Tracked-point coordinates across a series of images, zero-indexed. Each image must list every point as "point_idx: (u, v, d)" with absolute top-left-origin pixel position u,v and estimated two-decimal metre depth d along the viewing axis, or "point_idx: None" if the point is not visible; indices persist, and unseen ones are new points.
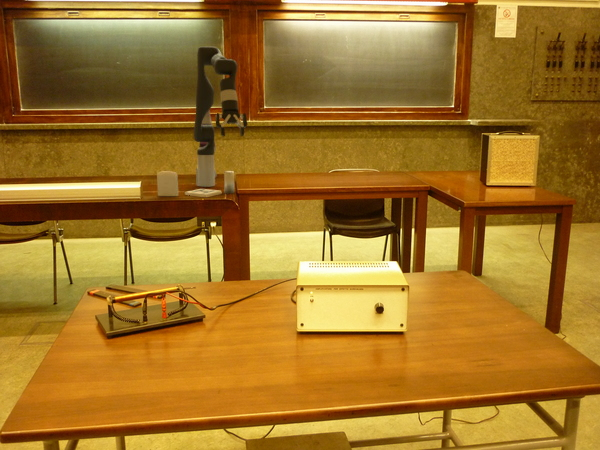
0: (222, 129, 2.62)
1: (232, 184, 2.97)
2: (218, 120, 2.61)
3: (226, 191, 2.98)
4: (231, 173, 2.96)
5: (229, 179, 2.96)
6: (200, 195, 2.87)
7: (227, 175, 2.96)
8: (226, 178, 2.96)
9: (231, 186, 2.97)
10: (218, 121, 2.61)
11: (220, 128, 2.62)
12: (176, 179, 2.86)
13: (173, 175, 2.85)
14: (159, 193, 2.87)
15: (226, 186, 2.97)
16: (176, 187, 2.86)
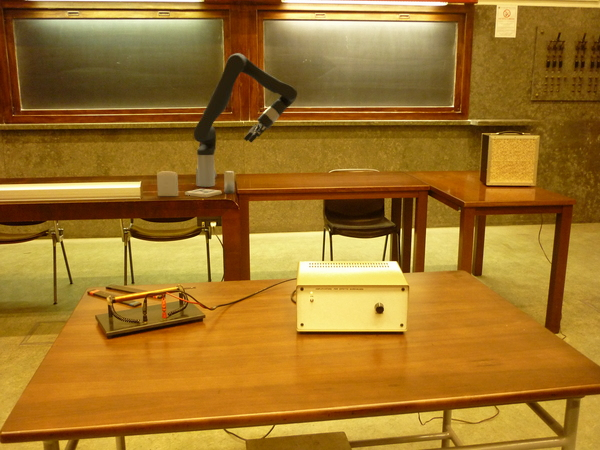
0: (254, 138, 2.94)
1: (232, 184, 2.97)
2: None
3: (226, 191, 2.98)
4: (231, 173, 2.96)
5: (229, 179, 2.96)
6: (200, 195, 2.87)
7: (227, 175, 2.96)
8: (226, 178, 2.96)
9: (231, 186, 2.97)
10: None
11: (254, 135, 2.93)
12: (176, 179, 2.86)
13: (173, 175, 2.85)
14: (159, 193, 2.87)
15: (226, 186, 2.97)
16: (176, 187, 2.86)
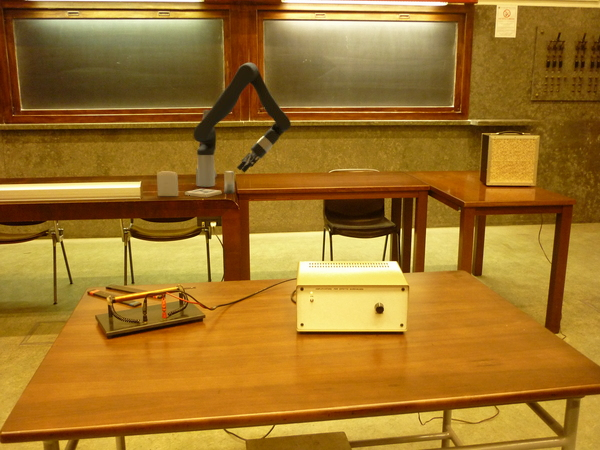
0: (247, 167, 2.96)
1: (232, 184, 2.97)
2: None
3: (226, 191, 2.98)
4: (231, 173, 2.96)
5: (229, 179, 2.96)
6: (200, 195, 2.87)
7: (227, 175, 2.96)
8: (226, 178, 2.96)
9: (231, 186, 2.97)
10: None
11: (248, 165, 2.95)
12: (176, 179, 2.86)
13: (173, 175, 2.85)
14: (159, 193, 2.87)
15: (226, 186, 2.97)
16: (176, 187, 2.86)
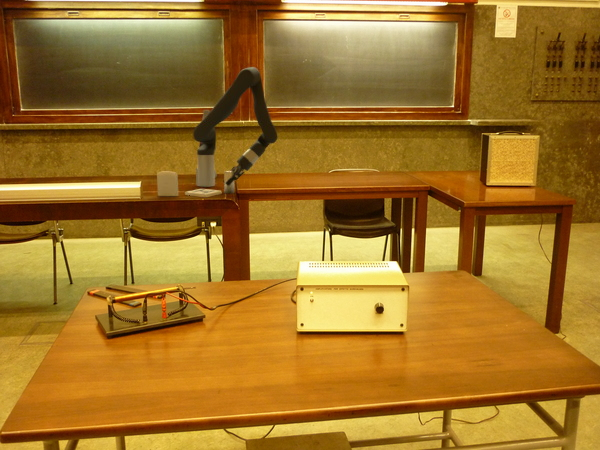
0: (232, 181, 2.96)
1: (232, 184, 2.97)
2: None
3: (226, 191, 2.98)
4: (231, 173, 2.96)
5: None
6: (200, 195, 2.87)
7: (227, 175, 2.96)
8: (226, 178, 2.96)
9: (231, 186, 2.97)
10: None
11: (232, 179, 2.95)
12: (176, 179, 2.86)
13: (173, 175, 2.85)
14: (159, 193, 2.87)
15: (226, 186, 2.97)
16: (176, 187, 2.86)
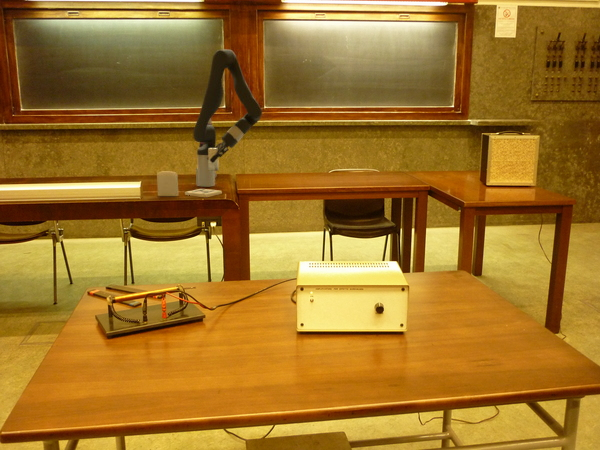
0: None
1: (216, 161, 2.92)
2: None
3: (210, 168, 2.92)
4: (215, 150, 2.90)
5: None
6: (200, 195, 2.87)
7: (211, 151, 2.90)
8: (210, 155, 2.90)
9: (215, 163, 2.91)
10: None
11: (216, 156, 2.89)
12: (176, 179, 2.86)
13: (173, 175, 2.85)
14: (159, 193, 2.87)
15: (210, 163, 2.91)
16: (176, 187, 2.86)
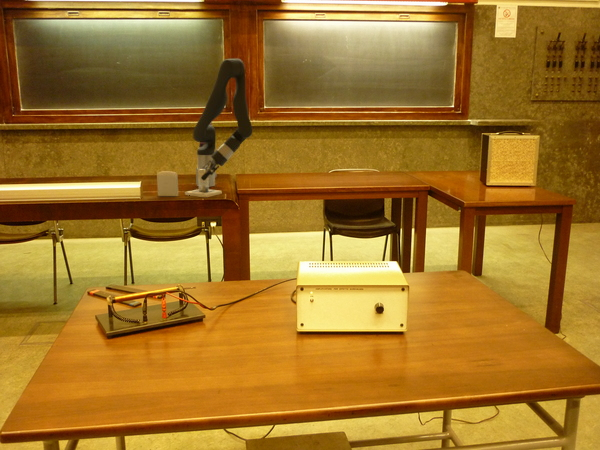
0: (207, 176, 2.88)
1: (206, 182, 2.91)
2: None
3: (200, 189, 2.92)
4: (205, 171, 2.90)
5: None
6: (200, 195, 2.87)
7: (201, 173, 2.90)
8: (200, 176, 2.90)
9: (205, 184, 2.91)
10: None
11: (207, 174, 2.87)
12: (176, 179, 2.86)
13: (173, 175, 2.85)
14: (159, 193, 2.87)
15: (200, 184, 2.91)
16: (176, 187, 2.86)
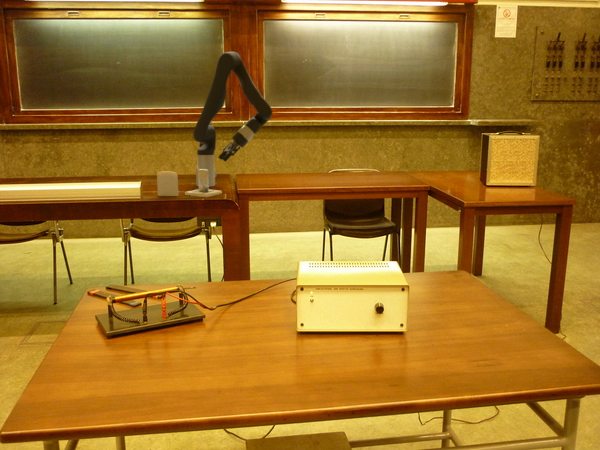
0: (228, 157, 2.90)
1: (206, 182, 2.91)
2: None
3: (200, 189, 2.92)
4: (205, 171, 2.90)
5: (203, 177, 2.90)
6: (200, 195, 2.87)
7: (201, 173, 2.90)
8: (200, 176, 2.90)
9: (205, 184, 2.91)
10: None
11: (228, 154, 2.89)
12: (176, 179, 2.86)
13: (173, 175, 2.85)
14: (159, 193, 2.87)
15: (200, 184, 2.91)
16: (176, 187, 2.86)
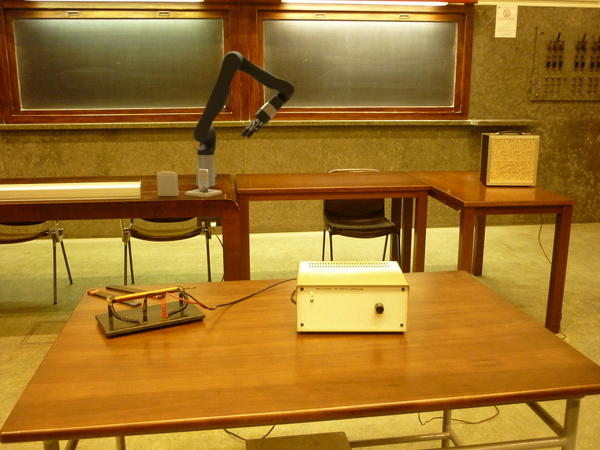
0: (252, 133, 2.94)
1: (206, 182, 2.91)
2: None
3: (200, 189, 2.92)
4: (205, 171, 2.90)
5: (203, 177, 2.90)
6: (200, 195, 2.87)
7: (201, 173, 2.90)
8: (200, 176, 2.90)
9: (205, 184, 2.91)
10: None
11: (252, 131, 2.93)
12: (176, 179, 2.86)
13: (173, 175, 2.85)
14: (159, 193, 2.87)
15: (200, 184, 2.91)
16: (176, 187, 2.86)
